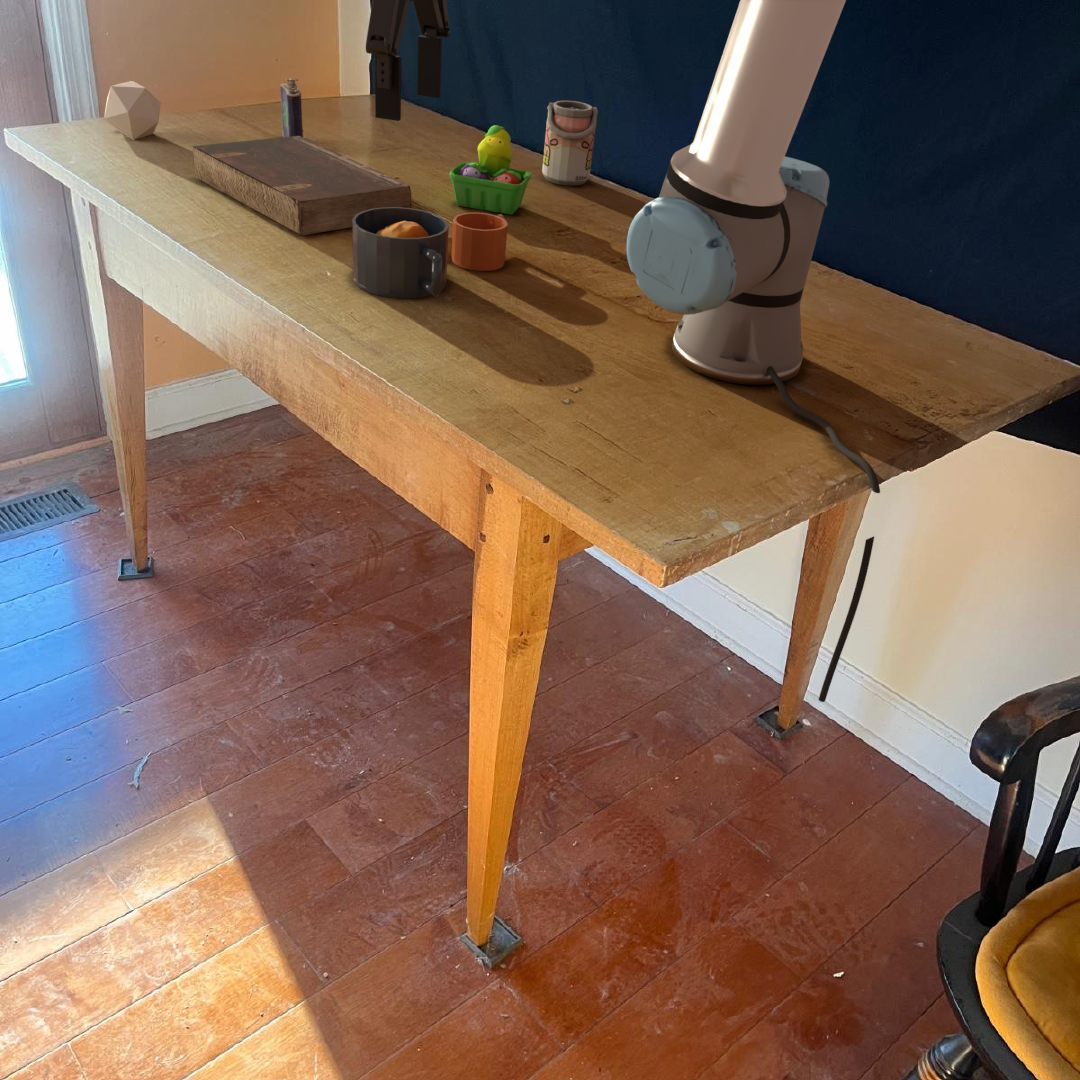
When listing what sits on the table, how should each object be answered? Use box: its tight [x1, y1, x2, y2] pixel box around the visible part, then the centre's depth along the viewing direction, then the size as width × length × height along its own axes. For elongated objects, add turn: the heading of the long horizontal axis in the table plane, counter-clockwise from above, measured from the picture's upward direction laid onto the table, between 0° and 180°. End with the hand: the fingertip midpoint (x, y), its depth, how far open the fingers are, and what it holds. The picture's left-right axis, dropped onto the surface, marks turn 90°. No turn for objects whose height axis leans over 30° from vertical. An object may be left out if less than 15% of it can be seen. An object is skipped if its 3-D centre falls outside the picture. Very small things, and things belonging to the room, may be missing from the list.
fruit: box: [376, 221, 429, 238], centre depth 130 cm, size 8×8×8 cm
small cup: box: [451, 211, 509, 272], centre depth 140 cm, size 10×7×6 cm
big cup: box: [351, 207, 450, 299], centre depth 129 cm, size 15×12×8 cm
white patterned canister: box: [541, 100, 599, 187], centre depth 172 cm, size 9×8×12 cm
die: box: [103, 80, 162, 141], centre depth 171 cm, size 8×9×10 cm
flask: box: [279, 77, 304, 138], centre depth 175 cm, size 9×3×11 cm, turn 21°
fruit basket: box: [449, 125, 532, 216], centre depth 158 cm, size 11×9×11 cm
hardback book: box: [192, 136, 412, 236], centre depth 154 cm, size 29×19×5 cm, turn 44°
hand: (409, 107), depth 120 cm, fingers open, 13 cm apart
